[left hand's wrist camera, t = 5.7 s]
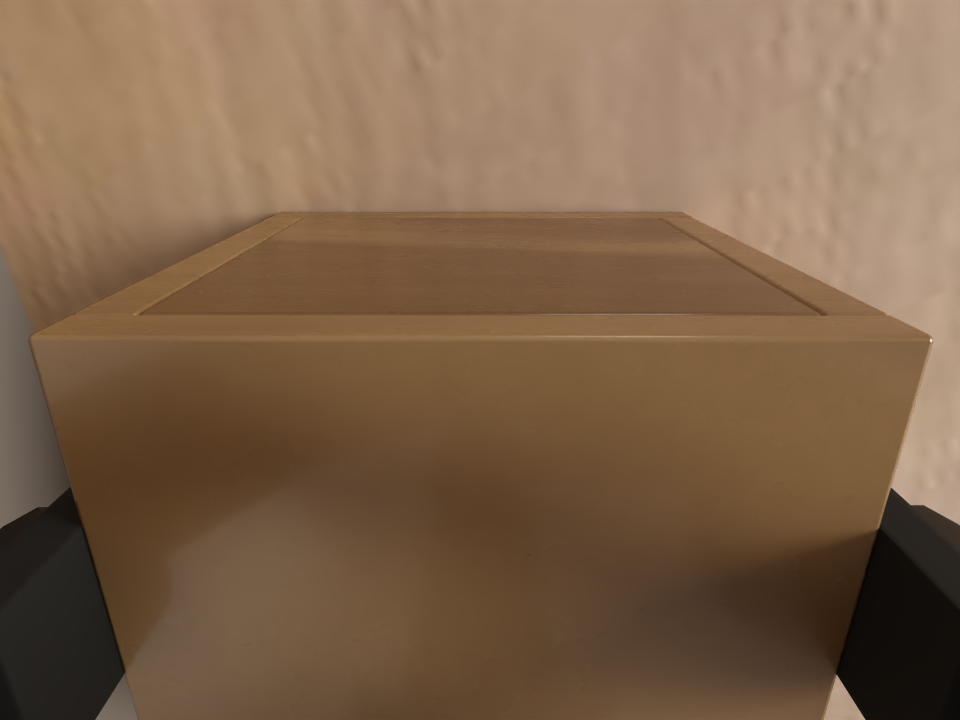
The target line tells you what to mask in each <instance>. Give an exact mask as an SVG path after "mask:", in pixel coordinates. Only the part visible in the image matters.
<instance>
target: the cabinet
mask: <svg viewBox="0 0 960 720" xmlns="http://www.w3.org/2000/svg"><path fill="white" fill-rule="evenodd" d="M932 344H933V338H932V336H931V335H929V334H927V333H925V332H923V331H920V330H918V329H916V328H914V327H912V326H910V325H908V324H906V323H904V322H902V321H900V320H898V319H896V318H894V317H892V316H887V314H886V313H884V312H882V311H880V310H878V309H876V308H874V307H872V306H870V305H868V304H866V303H864V302H862V301H860V300H858V299H856V298H854V297H852V296H850V295H848V294H846V293H844V292H842V291H840V290H837V289H835V288H833V287H831V286H829V285H827V284H825V283H823V282H821V281H819V280H817V279H815V278H813V277H811V276H809V275H807V274H805V273H803V272H801V271H799V270H797V269H795V268H793V267H791V266H789V265H787V264H785V263H783V262H781V261H779V260H777V259H775V258H773V257H771V256H769V255H767V254H765V253H763V252H761V251H759V250H756V249H754V248H752V247H750V246H748V245H746V244H744V243H742V242H740V241H738V240H736V239H734V238H732V237H730V236H728V235H726V234H724V233H722V232H720V231H718V230H716V229H714V228H712V227H710V226H708V225H706V224H704V223H702V222H700V221H698V220H696V219H694V218H692V217H691V216H689V215H687V214H684V213H682V212H280V213H278V214H276V215H274V216H272V217H270V218H268V219H266V220H264V221H262V222H260V223H258V224H256V225H254V226H252V227H249V228H247V229H245V230H243V231H241V232H239V233H237V234H235V235H233V236H231V237H229V238H227V239H225V240H223V241H221V242H219V243H217V244H215V245H213V246H211V247H209V248H207V249H205V250H202V251H200V252H198V253H196V254H194V255H192V256H190V257H188V258H186V259H184V260H182V261H180V262H178V263H176V264H174V265H172V266H170V267H168V268H166V269H164V270H162V271H160V272H158V273H156V274H153V275H151V276H149V277H147V278H145V279H143V280H141V281H139V282H137V283H135V284H133V285H131V286H129V287H127V288H125V289H123V290H121V291H119V292H117V293H115V294H113V295H111V296H109V297H106V298H104V299H102V300H100V301H98V302H96V303H94V304H92V305H90V306H88V307H86V308H84V309H82V310H80V311H78V312H76V313H74V314H73V315H71V316H69V317H67V318H65V319H63V320H61V321H59V322H57V323H55V324H53V325H51V326H49V327H46V328H44V329H42V330H40V331H38V332H36V333H34V334H32V335H30V337H29V345H30V348H31V352H32V355H33V359H34V362H35V365H36V369H37V372H38V376H39V379H40V383H41V386H42V390H43V393H44V396H45V400H46V403H47V407H48V410H49V413H50V417H51V420H52V424H53V428H54V431H55V434H56V438H57V441H58V445H59V448H60V452H61V455H62V459H63V462H64V465H65V469H66V472H67V476H68V479H69V483H70V486H71V490H72V493H73V497H74V500H75V503H76V507H77V510H78V514H79V517H80V521H81V524H82V528H83V531H84V534H85V538H86V541H87V545H88V548H89V552H90V555H91V559H92V562H93V565H94V569H95V572H96V576H97V579H98V583H99V586H100V590H101V593H102V597H103V600H104V603H105V607H106V610H107V614H108V617H109V621H110V624H111V628H112V631H113V634H114V638H115V641H116V645H117V648H118V652H119V655H120V659H121V662H122V666H123V669H124V672H125V676H126V679H127V683H128V686H129V689H130V693H131V697H132V700H133V703H134V707H135V710H136V714H137V717H138V720H824V716H825V713H826V709H827V706H828V702H829V699H830V695H831V692H832V688H833V685H834V682H835V678H836V675H837V671H838V668H839V664H840V661H841V657H842V654H843V651H844V647H845V644H846V640H847V637H848V633H849V630H850V626H851V623H852V620H853V616H854V613H855V609H856V606H857V602H858V599H859V595H860V592H861V589H862V585H863V582H864V578H865V575H866V571H867V568H868V564H869V561H870V557H871V554H872V551H873V547H874V544H875V540H876V537H877V533H878V530H879V526H880V523H881V520H882V516H883V513H884V509H885V506H886V502H887V499H888V495H889V492H890V489H891V485H892V482H893V478H894V475H895V471H896V468H897V464H898V461H899V458H900V454H901V451H902V447H903V444H904V440H905V437H906V433H907V430H908V426H909V423H910V420H911V416H912V413H913V409H914V406H915V402H916V399H917V395H918V392H919V389H920V385H921V382H922V378H923V375H924V371H925V368H926V364H927V361H928V358H929V354H930V351H931V347H932Z"/></svg>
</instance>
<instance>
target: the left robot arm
mask: <svg viewBox="0 0 960 720" xmlns="http://www.w3.org/2000/svg"><path fill="white" fill-rule="evenodd" d="M124 673H125V672H124V669H123V666H122V662H121V659H120V655H119V652H118V648H117V645H116V641H115V638H114V634H113V631H112V628H111V624H110V621H109V617H108V614H107V610H106V607H105V603H104V600H103V597H102V593H101V590H100V586H99V583H98V579H97V576H96V572H95V569H94V565H93V562H92V559H91V555H90V552H89V548H88V545H87V541H86V538H85V534H84V531H83V528H82V524H81V521H80V517H79V514H78V510H77V507H76V503H75V500H74V497H73V493H72V490H71V487H70V488H69V489H68V490H67V491H65V492H64V493H63V494H62V495H61V496H60V497H59V498H58V499H57V500H56V501H54V502H53V503H52V504H51V505H50V506H49V507H38V508H36V509H34V510H32V511H30V512H29V513H27V514H25V515H23V516H21V517H20V518H18V519H16V520H14V521H12V522H11V523H9V524H7V525H5V526H3V527H2V528H1V529H0V720H95V719H96V717H97V716H98V714H99V713H100V711H101V710H102V708H103V706H104V705H105V703H106V702H107V700H108V699H109V697H110V695H111V694H112V692H113V691H114V689H115V688H116V686H117V684H118V683H119V681H120V680H121V678H122V677H123V675H124ZM837 676H838V677H839V679H840V680H841V682H842V683H843V685H844V687H845V688H846V690H847V691H848V693H849V694H850V696H851V698H852V699H853V701H854V702H855V704H856V705H857V707H858V709H859V710H860V712H861V713H862V715H863V716H864V718H865V720H960V525H958V524H957V523H955V522H953V521H951V520H949V519H947V518H946V517H944V516H942V515H940V514H938V513H937V512H935V511H933V510H931V509H929V508H928V507H926V506H924V505H910V504H909V503H907V502H906V501H905V500H904V499H903V498H902V497H901V496H900V495H899V494H898V493H896V492H895V491H894V490H893V489H892V488H891V489H890V492H889V495H888V499H887V502H886V506H885V509H884V513H883V516H882V520H881V523H880V526H879V530H878V533H877V537H876V540H875V544H874V547H873V551H872V554H871V557H870V561H869V564H868V568H867V571H866V575H865V578H864V582H863V585H862V589H861V592H860V595H859V599H858V602H857V606H856V609H855V613H854V616H853V620H852V623H851V626H850V630H849V633H848V637H847V640H846V644H845V647H844V651H843V654H842V657H841V661H840V664H839V668H838V671H837Z"/></svg>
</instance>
